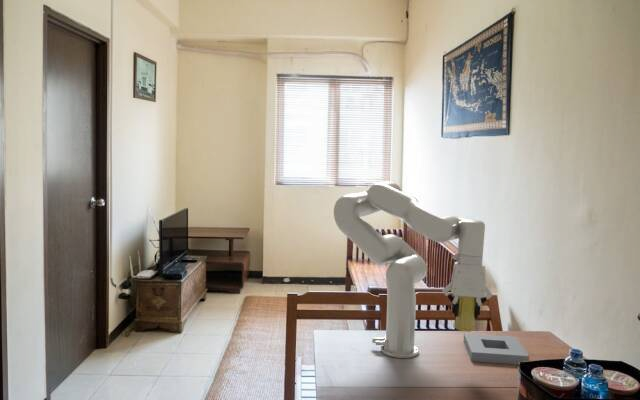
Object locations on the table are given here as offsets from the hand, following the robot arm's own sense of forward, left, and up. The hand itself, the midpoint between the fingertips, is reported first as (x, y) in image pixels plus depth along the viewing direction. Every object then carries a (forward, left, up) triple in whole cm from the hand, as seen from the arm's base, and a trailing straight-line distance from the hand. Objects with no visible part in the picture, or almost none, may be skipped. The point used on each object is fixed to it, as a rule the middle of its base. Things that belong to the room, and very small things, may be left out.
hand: (465, 315), depth 172 cm
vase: (0, 0, -4) cm, 4 cm away
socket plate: (+12, +15, -17) cm, 26 cm away
